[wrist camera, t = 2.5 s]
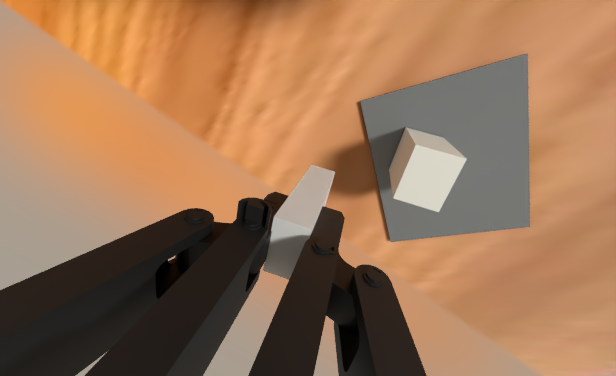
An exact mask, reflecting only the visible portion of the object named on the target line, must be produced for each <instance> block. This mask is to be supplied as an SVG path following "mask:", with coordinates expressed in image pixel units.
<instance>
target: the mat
mask: <svg viewBox="0 0 616 376" xmlns="http://www.w3.org/2000/svg"><path fill="white" fill-rule="evenodd" d="M360 102H361V107H362V111H363V116H364V121H365V125H366V130H367V135H368V139H369V144H370V148H371V153H372V158H373V162H374V167H375V172H376V176H377V181H378V186H379V190H380V195H381V199H382V204H383V209H384V213H385V218H386V223H387V227H388V232H389V237H390V241H391V242H395V241H404V240H413V239H423V238H432V237H441V236H450V235H459V234H468V233H477V232H487V231H496V230H505V229H514V228H523V227H530V194H529V115H528V54H524V55H520V56H517V57H513V58H510V59H506V60H503V61H499V62H496V63H492V64H489V65H485V66H482V67H478V68H475V69H471V70H468V71H464V72H461V73H457V74H454V75H450V76H447V77H443V78H440V79H436V80H433V81H429V82H426V83H422V84H419V85H415V86H412V87H408V88H405V89H401V90H398V91H394V92H391V93H387V94H384V95H380V96H377V97H373V98H370V99H366V100H363V101H360ZM405 127H407V128H411V129H415V130H418V131H422V132H426V133H429V134H433V135H437V136H440V137H443V138H444V139H446V140H447V141H448V142H449V143H450V144H451V145H452V146H453V147H454V148H455V149H457V150H458V151H459V152H460V153H461V154H462V155H463V156H464V157H465V158H466V159H467V160H466V162H465V164H464V165H463V167H462V169H461V171H460V173H459V175H458V177H457V179H456V181H455V182H454V184H453V186H452V188H451V190H450V192H449V194H448V196H447V198H446V200H445V201H444V203H443V205H442V207H441V209H440V211H439V212H436V211H433V210H430V209H426V208H423V207H420V206H416V205H413V204H410V203H407V202H403V201H400V200H397V199H394V198H393V194H392V188H391V181H390V174H389V167H390V165H391V162H392V160H393V157H394V155H395V152H396V150H397V147H398V145H399V142H400V140H401V137H402V134H403V132H404V129H405Z"/></svg>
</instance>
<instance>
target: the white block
mask: <svg viewBox="0 0 616 376" xmlns="http://www.w3.org/2000/svg"><path fill="white" fill-rule="evenodd" d="M466 160H467V159H466V158H465V157H464V156H463V155H462V154H461V153H460V152H459V151H458V150H457V149H455V148H454V147H453V146H452V145H451V144H450V143H449V142H448V141H447V140H446V139H444V138H443V137H440V136H437V135H433V134H429V133H426V132H422V131H418V130H415V129H411V128H407V127H405V129H404V132H403V134H402V137H401V140H400V142H399V145H398V147H397V150H396V152H395V155H394V157H393V160H392V162H391V165H390V167H389V174H390V181H391V188H392V194H393V198H394V199H397V200H400V201H403V202H407V203H410V204H413V205H416V206H420V207H423V208H426V209H430V210H433V211H436V212H439V211H440V209H441V207H442V205H443V203H444V201H445V200H446V198H447V196H448V194H449V192H450V190H451V188H452V186H453V184H454V182H455V181H456V179H457V177H458V175H459V173H460V171H461V169H462V167H463V165H464V164H465V162H466Z"/></svg>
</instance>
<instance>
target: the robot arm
mask: <svg viewBox="0 0 616 376" xmlns="http://www.w3.org/2000/svg"><path fill="white" fill-rule="evenodd" d="M334 175H335V172H334V171H331V170H328V169H324V168H321V167H318V166H314V165H311V166H310V168H309V169H308V170H307V172H306V173H305V174H304V176H303V177H302V179H301V180H300V181H299V183H298V184H297V185H296V187H295V188H294V190H293V191H292V192H291V194H290V195H289V196H287V195H284V194H281V193H278V192H273V193H271V194H268V195H267V196H266V197H265V198H264V200H262V199H258V198H245V199H242V200H240V201H239V203H238V211H237V219H236V220H235V221H234V222H233V223H220V222H214V217H213V214H211V213H210V212H209V211H207V210H204V209H198V208H194V209H187V210H183V211H181V212H179V213H176V214H174V215H172V216H169V217H167V218H165V219H163V220H160V221H158V222H156V223H154V224H151V225H149V226H147V227H145V228H142V229H140V230H137V231H135V232H133V233H131V234H128V235H126V236H124V237H121V238H119V239H117V240H115V241H113V242H110V243H108V244H105V245H103V246H101V247H99V248H96V249H94V250H92V251H89V252H87V253H85V254H82V255H80V256H78V257H76V258H73V259H71V260H69V261H66V262H64V263H62V264H60V265H57V266H55V267H53V268H50V269H48V270H46V271H44V272H41V273H39V274H37V275H34V276H32V277H30V278H28V279H25V280H23V281H21V282H19V283H16V284H14V285H11V286H9V287H7V288H5V289H3V290H0V376H75V375H77V374H78V373H79V372H80V371H82V370H83V369H85V368H86V367H87V366H89V365H90V364H91V363H93V362H94V361H95V360H97V359H98V358H99V357H100V356H102V355H103V354H104V353H106V352H107V351H108V350H109V351H108V352H107V353H106V354H105V355H104V356H103V357H102V358H101V359H100V360H99V361H98V362H97V363H96V364H95V365H94V366H93V367H92V368H91V369H90V370H89V371H88V373H87V374H86V375H85V376H203V374H204V373H205V371H206V369H207V367H208V366H209V364H210V362H211V360H212V359H213V357H214V355H215V353H216V352H217V350H218V348H219V346H220V344H221V343H222V341H223V339H224V338H225V336H226V334H227V332H228V331H229V329H230V327H231V325H232V324H233V322H234V320H235V319H236V317H237V315H238V313H239V311H240V310H241V308H242V306H243V305H244V303H245V301H246V299H247V298H248V296H249V294H250V292H251V291H252V289H253V287H254V285H255V284H256V282H257V280H258V278H259V273H260V269H261V267H262V266H263V264H264V268H263V270H264V271H266V272H269V273H272V274H275V275H278V276H280V277H283V278H286V279H289V282H288V284H287V286H286V289H285V291H284V293H283V296H282V298H281V300H280V303H279V305H278V308H277V310H276V312H275V315H274V317H273V319H272V322H271V324H270V326H269V329H268V331H267V333H266V336H265V338H264V340H263V343H262V345H261V347H260V350H259V352H258V354H257V357H256V359H255V361H254V364H253V366H252V369H251V371H250V373H249V376H313V374H314V370H315V365H316V360H317V355H318V350H319V345H320V341H321V336H322V331H323V326H324V322H325V317H326V316H328V317H329V318H330V319H332V320H333V321H334V331H335V342H336V352H337V362H338V372H339V376H426V373H425V370H424V368H423V365H422V362H421V360H420V357H419V355H418V352H417V349H416V347H415V344H414V341H413V339H412V336H411V333H410V331H409V328H408V326H407V323H406V320H405V318H404V315H403V312H402V310H401V307H400V304H399V302H398V299H397V296H396V294H395V291H394V288H393V286H392V283H391V281H390V279H389V277H388V276H387V275H386V274H385V273H384V272H383V271H382V270H380V269H378V268H377V267H374V266H371V265H360V266H358V267H357V268H354V267H352V266H351V265H349V264H347V263H346V262H345V261H344V260H343V259H342V258H341V256H340V255H339V252H338V247H339V242H340V238H341V233H342V228H343V223H344V219H345V218H344V216H343V214H342V212H339V211H336V210H333V209H330V208H327V207H325V205H326V202H327V198H328V195H329V192H330V188H331V185H332V182H333V178H334ZM173 256H175V258H174V259H172V260H170V261H168V259H169V258H171V257H173ZM264 262H265V263H264Z"/></svg>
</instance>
